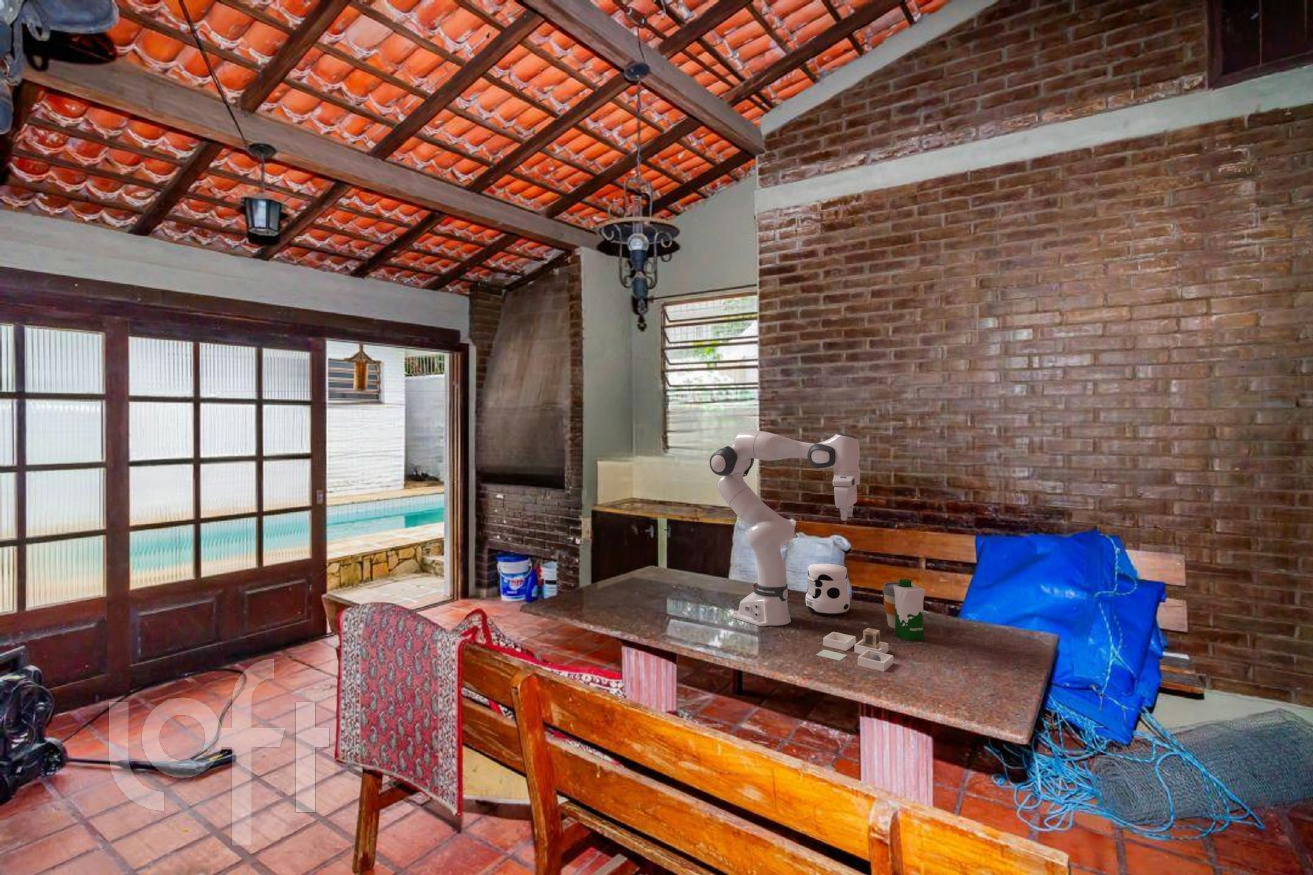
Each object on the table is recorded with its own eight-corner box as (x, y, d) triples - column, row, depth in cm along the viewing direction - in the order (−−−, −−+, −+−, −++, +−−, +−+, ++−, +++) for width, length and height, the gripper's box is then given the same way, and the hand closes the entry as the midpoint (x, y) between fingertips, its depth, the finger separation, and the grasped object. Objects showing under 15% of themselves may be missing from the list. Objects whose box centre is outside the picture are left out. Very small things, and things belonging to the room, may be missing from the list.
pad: (816, 656, 202) (816, 654, 202) (823, 651, 207) (823, 649, 207) (839, 662, 197) (839, 660, 197) (847, 656, 202) (847, 654, 202)
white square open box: (857, 666, 194) (857, 656, 193) (867, 658, 200) (867, 649, 200) (884, 672, 188) (884, 663, 188) (893, 664, 195) (893, 655, 195)
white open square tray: (823, 646, 211) (823, 637, 211) (833, 640, 218) (833, 631, 218) (846, 651, 206) (846, 642, 206) (855, 645, 213) (855, 636, 212)
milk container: (855, 609, 254) (855, 565, 254) (842, 620, 240) (842, 574, 239) (814, 603, 264) (813, 561, 263) (799, 613, 249) (799, 569, 249)
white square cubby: (854, 653, 204) (854, 644, 204) (863, 647, 211) (863, 638, 211) (879, 659, 199) (879, 650, 199) (888, 652, 206) (888, 643, 205)
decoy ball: (868, 664, 194) (868, 654, 194) (872, 661, 196) (872, 652, 196) (878, 666, 192) (878, 657, 192) (882, 663, 194) (882, 654, 194)
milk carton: (911, 632, 225) (911, 577, 225) (928, 640, 216) (928, 583, 216) (890, 635, 223) (890, 579, 222) (907, 643, 214) (907, 585, 214)
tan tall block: (863, 652, 205) (863, 630, 205) (867, 648, 208) (867, 627, 208) (875, 654, 202) (875, 633, 202) (880, 651, 205) (879, 630, 205)
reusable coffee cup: (919, 622, 236) (919, 583, 236) (918, 632, 225) (918, 591, 225) (884, 618, 242) (884, 580, 241) (881, 628, 230) (881, 588, 230)
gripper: (843, 476, 230) (843, 514, 230) (831, 481, 211) (831, 521, 212) (861, 477, 227) (861, 515, 227) (850, 481, 209) (850, 522, 209)
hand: (846, 518), depth 219 cm, fingers open, 8 cm apart
